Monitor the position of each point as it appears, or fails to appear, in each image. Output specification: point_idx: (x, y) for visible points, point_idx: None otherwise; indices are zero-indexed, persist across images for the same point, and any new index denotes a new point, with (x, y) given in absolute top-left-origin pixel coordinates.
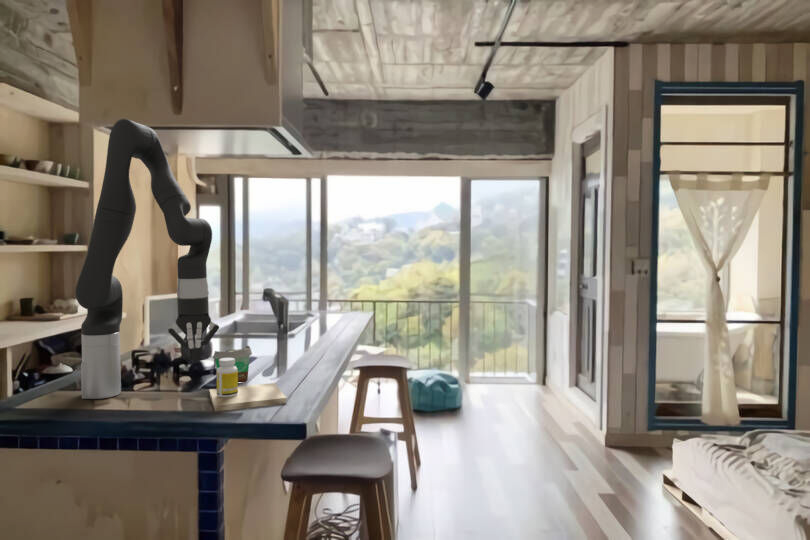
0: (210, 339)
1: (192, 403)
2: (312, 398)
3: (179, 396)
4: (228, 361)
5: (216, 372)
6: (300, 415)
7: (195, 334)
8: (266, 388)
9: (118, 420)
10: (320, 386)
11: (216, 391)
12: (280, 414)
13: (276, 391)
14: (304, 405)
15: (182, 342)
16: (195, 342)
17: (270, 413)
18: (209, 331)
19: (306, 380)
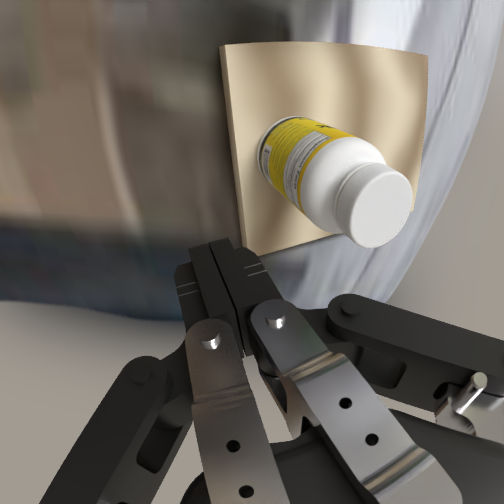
0: (385, 363)
1: (161, 154)
2: (446, 179)
3: (97, 50)
4: (377, 244)
5: (299, 192)
6: (392, 279)
7: (304, 412)
8: (403, 106)
9: (6, 299)
10: (479, 94)
11: (254, 86)
12: (369, 274)
13: (414, 148)
14: (420, 224)
15: (167, 435)
16: (265, 349)
17: (357, 268)
18: (438, 376)
19: (472, 28)
